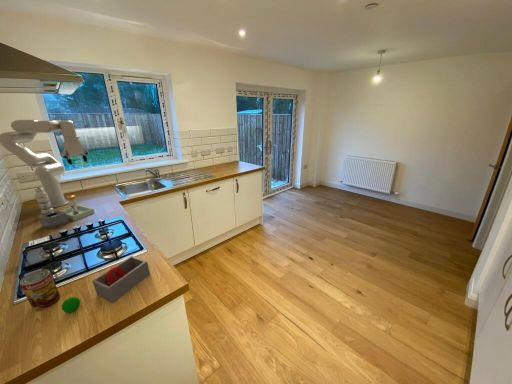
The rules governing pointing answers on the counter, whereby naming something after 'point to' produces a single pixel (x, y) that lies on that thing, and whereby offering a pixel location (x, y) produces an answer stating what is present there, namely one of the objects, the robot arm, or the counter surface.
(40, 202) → the plastic bottle
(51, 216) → the hitch block
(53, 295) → the canned food
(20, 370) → the counter surface
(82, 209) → the tray
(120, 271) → the red rounded piece
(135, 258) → the grey open box
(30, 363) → the counter surface
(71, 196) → the hitch pin
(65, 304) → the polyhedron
